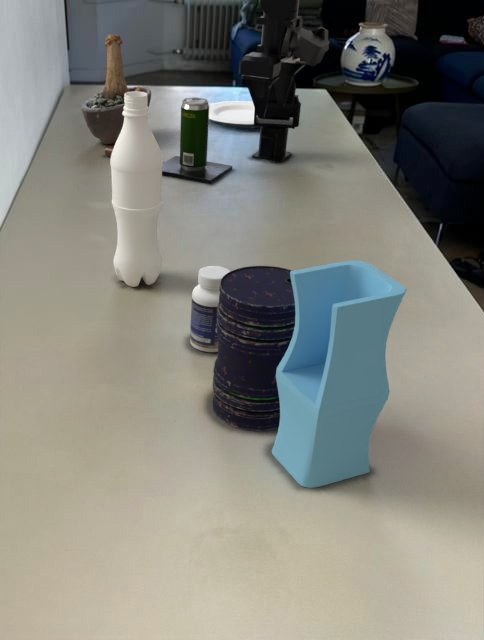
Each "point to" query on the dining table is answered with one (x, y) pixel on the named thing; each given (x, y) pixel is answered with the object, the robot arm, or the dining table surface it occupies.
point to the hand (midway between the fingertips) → (271, 112)
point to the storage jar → (252, 345)
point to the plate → (233, 114)
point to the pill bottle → (206, 309)
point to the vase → (334, 370)
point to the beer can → (194, 133)
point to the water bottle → (137, 194)
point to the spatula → (174, 170)
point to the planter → (110, 97)
